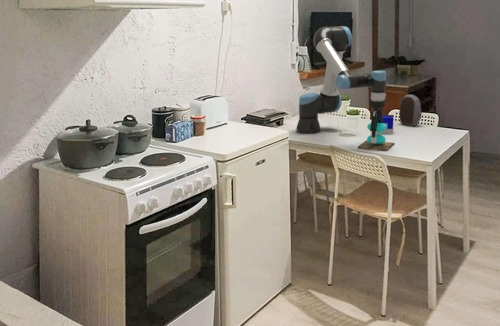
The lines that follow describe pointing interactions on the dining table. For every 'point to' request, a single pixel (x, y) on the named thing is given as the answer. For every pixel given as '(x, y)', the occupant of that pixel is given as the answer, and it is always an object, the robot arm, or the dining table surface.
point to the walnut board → (376, 146)
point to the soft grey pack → (410, 110)
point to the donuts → (380, 138)
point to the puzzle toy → (388, 124)
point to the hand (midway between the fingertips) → (376, 140)
